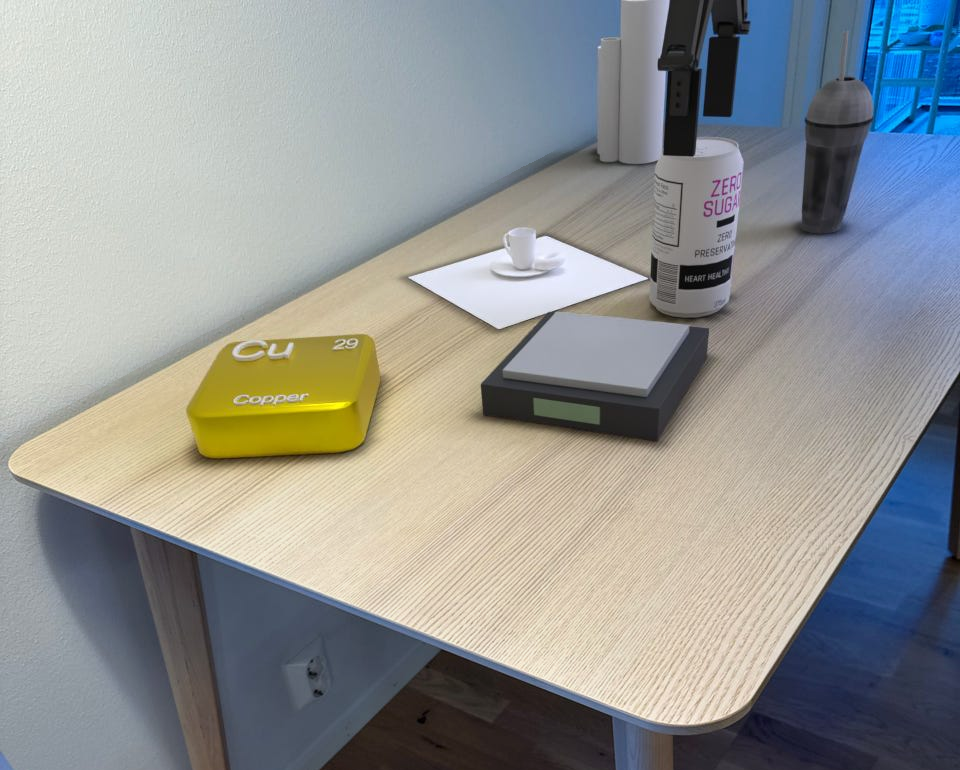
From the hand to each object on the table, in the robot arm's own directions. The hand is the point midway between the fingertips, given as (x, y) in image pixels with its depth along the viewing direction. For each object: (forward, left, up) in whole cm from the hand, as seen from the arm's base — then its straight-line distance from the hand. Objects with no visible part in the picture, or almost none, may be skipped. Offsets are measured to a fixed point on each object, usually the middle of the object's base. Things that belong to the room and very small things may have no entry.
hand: (699, 134), depth 84 cm
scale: (+3, +20, -16) cm, 26 cm away
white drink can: (0, 0, -16) cm, 16 cm away
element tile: (+28, +33, -16) cm, 46 cm away
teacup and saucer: (+20, -3, -16) cm, 26 cm away
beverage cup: (-9, -26, -16) cm, 32 cm away
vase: (+24, -52, -16) cm, 59 cm away
